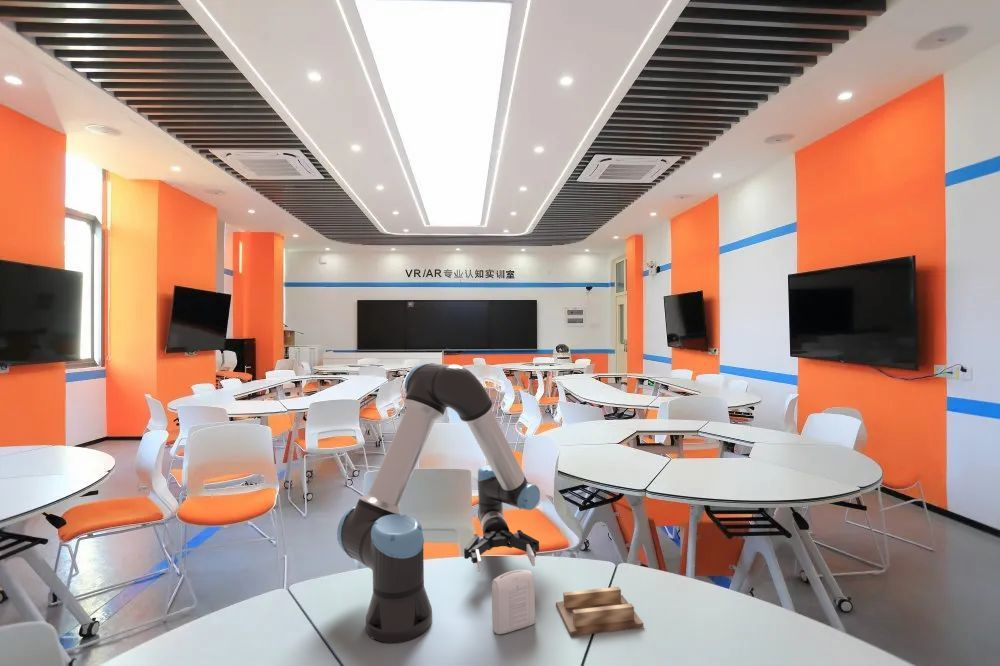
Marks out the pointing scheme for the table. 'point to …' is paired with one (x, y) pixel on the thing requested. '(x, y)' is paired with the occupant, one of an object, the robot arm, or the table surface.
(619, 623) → the rack
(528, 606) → the photo printer
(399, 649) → the table surface
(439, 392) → the robot arm
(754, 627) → the table surface
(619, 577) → the table surface
